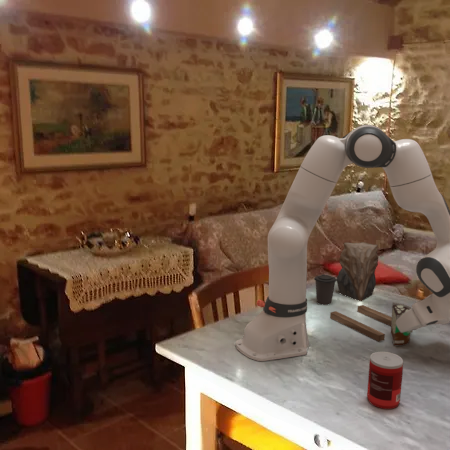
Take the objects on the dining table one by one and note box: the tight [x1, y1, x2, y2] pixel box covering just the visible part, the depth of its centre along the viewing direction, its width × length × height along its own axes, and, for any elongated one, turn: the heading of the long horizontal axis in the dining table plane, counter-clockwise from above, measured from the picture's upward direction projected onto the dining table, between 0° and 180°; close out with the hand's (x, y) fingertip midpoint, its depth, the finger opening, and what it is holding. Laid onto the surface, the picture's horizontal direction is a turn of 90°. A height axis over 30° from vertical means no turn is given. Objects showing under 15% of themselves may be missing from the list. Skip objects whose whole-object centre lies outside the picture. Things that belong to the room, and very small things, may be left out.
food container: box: [390, 302, 412, 347], centre depth 159 cm, size 12×6×10 cm, turn 168°
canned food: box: [366, 351, 404, 410], centre depth 124 cm, size 8×8×11 cm
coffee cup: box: [313, 274, 337, 306], centre depth 192 cm, size 8×8×10 cm
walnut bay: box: [329, 304, 414, 343], centre depth 172 cm, size 15×22×2 cm
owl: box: [336, 241, 379, 302], centre depth 200 cm, size 13×13×20 cm
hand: (410, 328), depth 157 cm, fingers closed
